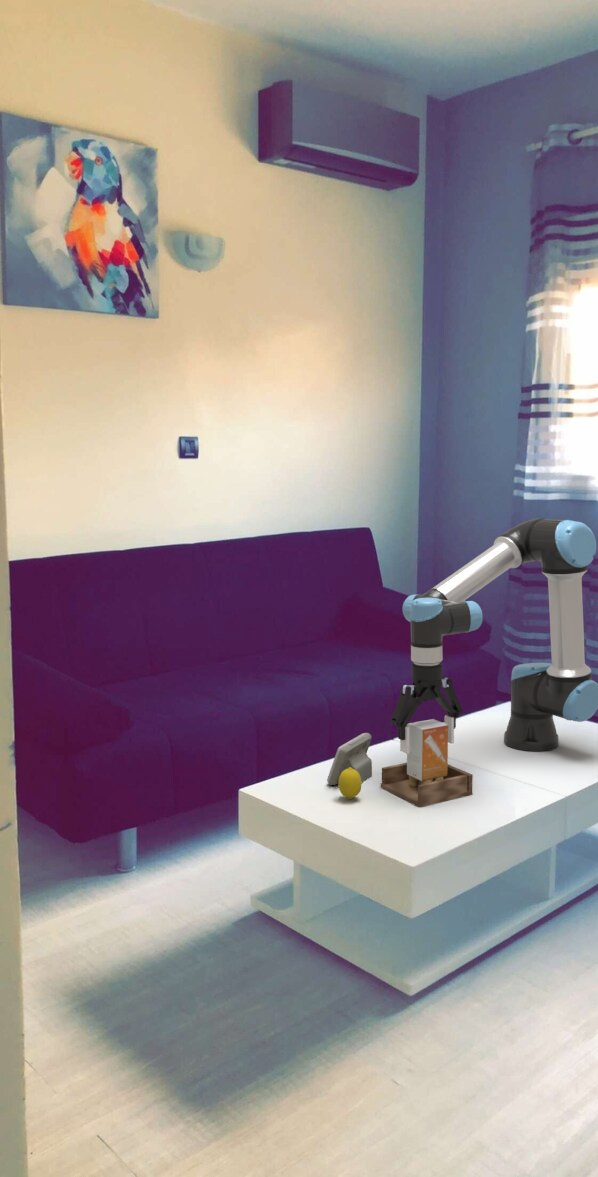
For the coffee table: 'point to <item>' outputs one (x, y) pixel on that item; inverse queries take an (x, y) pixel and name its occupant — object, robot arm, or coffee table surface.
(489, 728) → the coffee table surface
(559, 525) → the robot arm
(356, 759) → the digital clock
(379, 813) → the coffee table surface
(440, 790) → the peg frame
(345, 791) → the lemon
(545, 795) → the coffee table surface
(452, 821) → the coffee table surface
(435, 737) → the small box
